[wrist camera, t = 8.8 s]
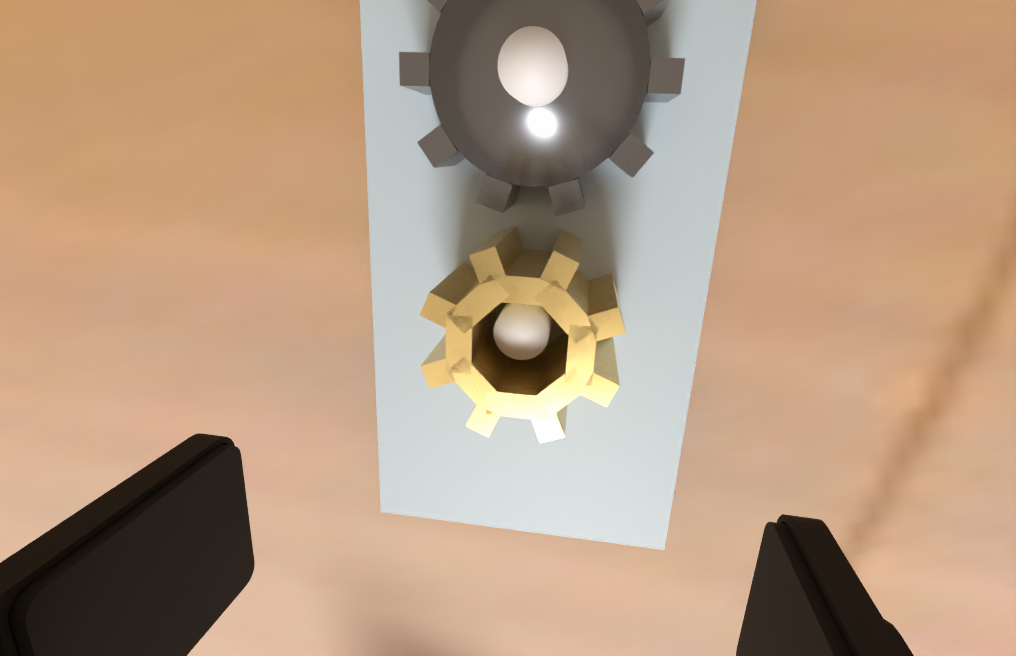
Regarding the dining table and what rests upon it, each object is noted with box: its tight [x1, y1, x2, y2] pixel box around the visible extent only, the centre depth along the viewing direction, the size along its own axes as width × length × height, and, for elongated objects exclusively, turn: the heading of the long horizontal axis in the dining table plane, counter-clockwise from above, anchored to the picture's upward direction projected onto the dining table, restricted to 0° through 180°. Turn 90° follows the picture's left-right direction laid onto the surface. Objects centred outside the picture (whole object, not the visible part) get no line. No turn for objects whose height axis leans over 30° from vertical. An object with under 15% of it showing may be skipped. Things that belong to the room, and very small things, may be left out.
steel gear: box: [399, 0, 685, 216], centre depth 18 cm, size 9×9×3 cm
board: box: [360, 0, 757, 550], centre depth 21 cm, size 14×26×6 cm, turn 177°
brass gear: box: [420, 226, 626, 443], centre depth 20 cm, size 7×7×5 cm
